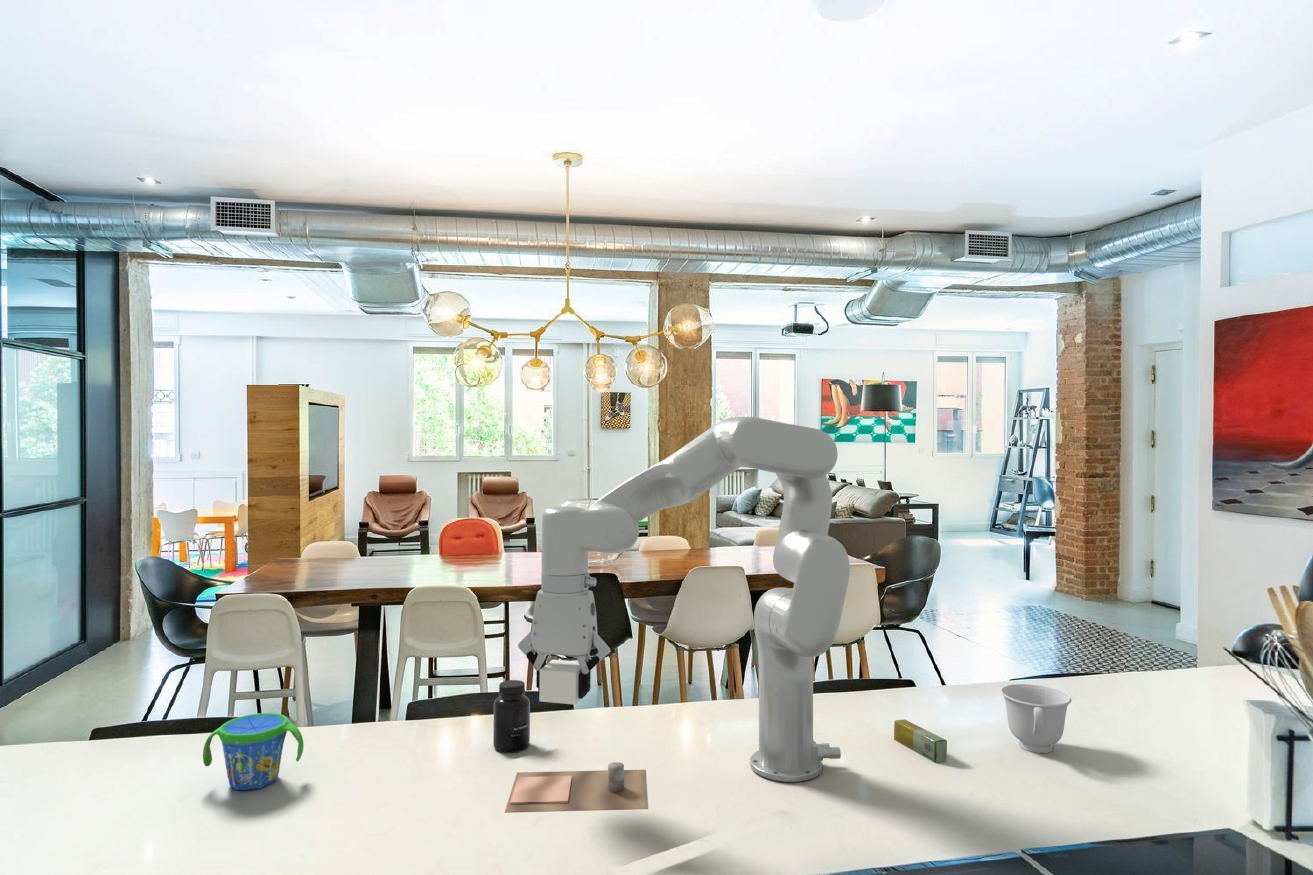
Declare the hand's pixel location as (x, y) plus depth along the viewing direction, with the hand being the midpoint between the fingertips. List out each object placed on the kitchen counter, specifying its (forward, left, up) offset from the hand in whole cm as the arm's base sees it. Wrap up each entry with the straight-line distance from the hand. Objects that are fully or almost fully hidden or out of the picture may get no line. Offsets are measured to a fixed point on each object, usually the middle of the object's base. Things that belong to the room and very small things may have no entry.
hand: (563, 693), depth 127 cm
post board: (-2, 0, -17) cm, 17 cm away
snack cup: (+54, -9, -18) cm, 57 cm away
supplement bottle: (+12, -22, -18) cm, 31 cm away
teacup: (-86, -15, -18) cm, 90 cm away
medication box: (-65, -17, -18) cm, 69 cm away
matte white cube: (0, 0, -1) cm, 1 cm away
